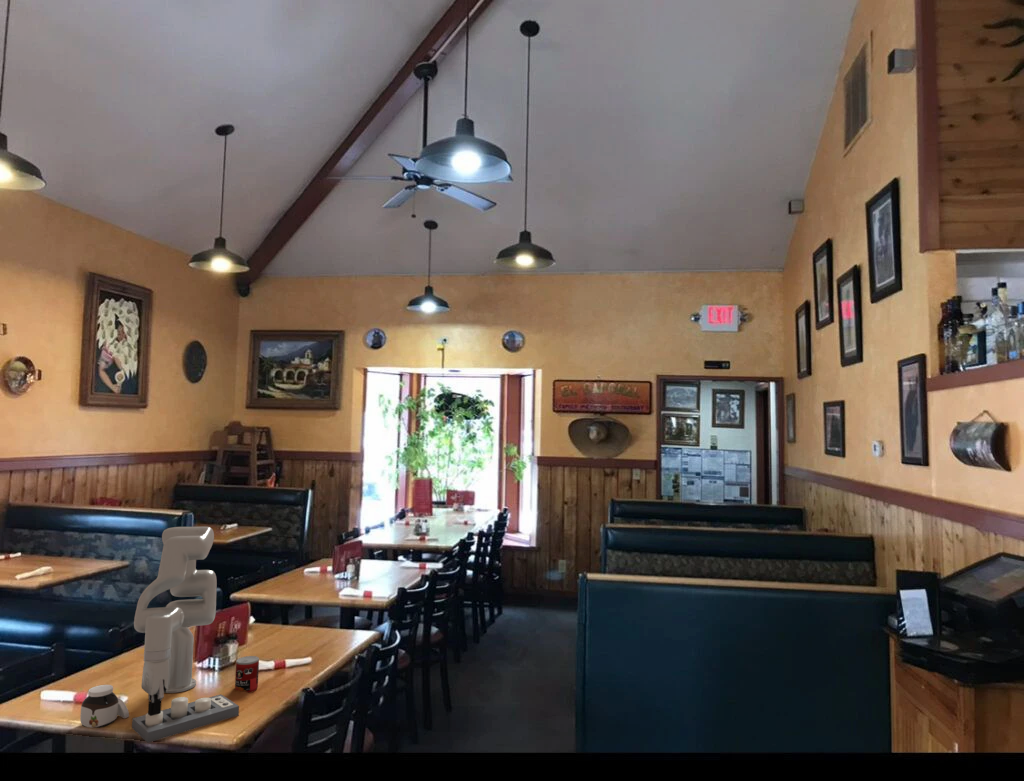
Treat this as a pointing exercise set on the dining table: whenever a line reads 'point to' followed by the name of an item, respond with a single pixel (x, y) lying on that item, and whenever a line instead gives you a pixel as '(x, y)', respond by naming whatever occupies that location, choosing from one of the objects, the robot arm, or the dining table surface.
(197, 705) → the button
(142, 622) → the robot arm
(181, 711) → the button
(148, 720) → the button
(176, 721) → the board
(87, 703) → the spread jar
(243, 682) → the canned food
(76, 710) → the dining table surface
